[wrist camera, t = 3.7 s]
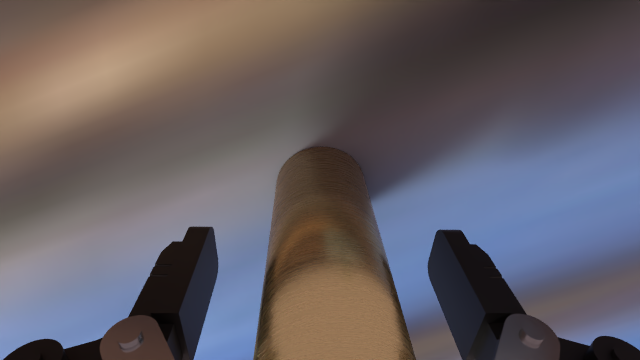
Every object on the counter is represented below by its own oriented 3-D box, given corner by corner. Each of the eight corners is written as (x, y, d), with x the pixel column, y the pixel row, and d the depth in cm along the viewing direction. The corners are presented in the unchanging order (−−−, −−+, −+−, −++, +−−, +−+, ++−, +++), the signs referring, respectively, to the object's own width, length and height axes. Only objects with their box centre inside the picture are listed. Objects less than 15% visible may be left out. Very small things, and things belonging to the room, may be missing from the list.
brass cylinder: (368, 148, 15) (452, 379, 7) (359, 221, 17) (414, 472, 9) (275, 145, 15) (237, 382, 6) (277, 220, 17) (249, 476, 8)
